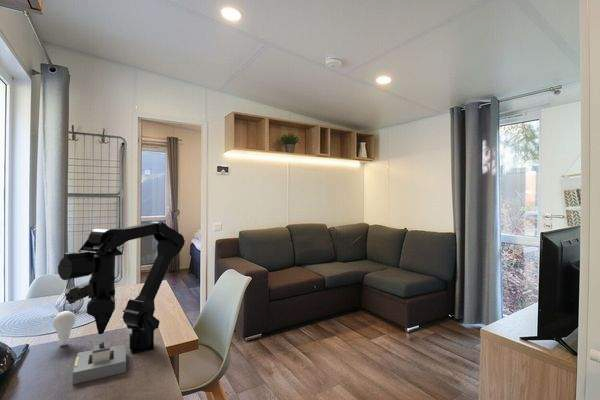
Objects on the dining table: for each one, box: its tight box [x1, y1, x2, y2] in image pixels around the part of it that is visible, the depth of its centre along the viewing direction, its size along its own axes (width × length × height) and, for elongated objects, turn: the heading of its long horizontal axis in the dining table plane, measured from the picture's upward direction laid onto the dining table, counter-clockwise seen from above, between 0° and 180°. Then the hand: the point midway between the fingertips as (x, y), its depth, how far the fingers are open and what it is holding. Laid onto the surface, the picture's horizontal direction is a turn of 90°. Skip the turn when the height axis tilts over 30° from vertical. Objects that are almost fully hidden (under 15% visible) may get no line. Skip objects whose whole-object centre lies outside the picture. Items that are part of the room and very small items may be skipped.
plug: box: [92, 341, 111, 363], centre depth 88 cm, size 4×4×7 cm
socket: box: [71, 343, 127, 385], centre depth 88 cm, size 12×12×3 cm
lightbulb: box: [52, 310, 77, 346], centre depth 101 cm, size 6×6×11 cm
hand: (101, 328), depth 88 cm, fingers open, 9 cm apart
